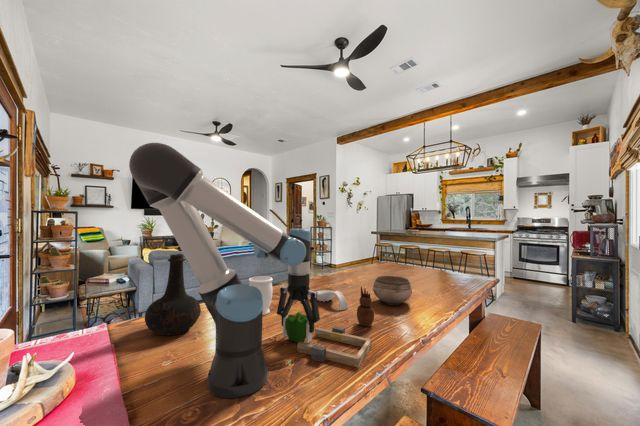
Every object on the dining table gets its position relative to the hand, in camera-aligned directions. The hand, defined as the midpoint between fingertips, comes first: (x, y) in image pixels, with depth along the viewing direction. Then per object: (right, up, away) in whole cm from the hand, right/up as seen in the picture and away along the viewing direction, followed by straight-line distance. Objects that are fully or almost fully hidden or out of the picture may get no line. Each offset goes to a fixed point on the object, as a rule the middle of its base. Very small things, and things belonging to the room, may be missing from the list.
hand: (297, 338), depth 95 cm
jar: (-18, -1, +26) cm, 32 cm away
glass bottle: (-46, 0, +6) cm, 46 cm away
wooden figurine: (+26, -1, +14) cm, 30 cm away
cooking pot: (+44, -2, +42) cm, 61 cm away
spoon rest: (+13, -1, +41) cm, 43 cm away
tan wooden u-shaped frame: (+13, -1, -6) cm, 14 cm away
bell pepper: (0, -1, 0) cm, 1 cm away
